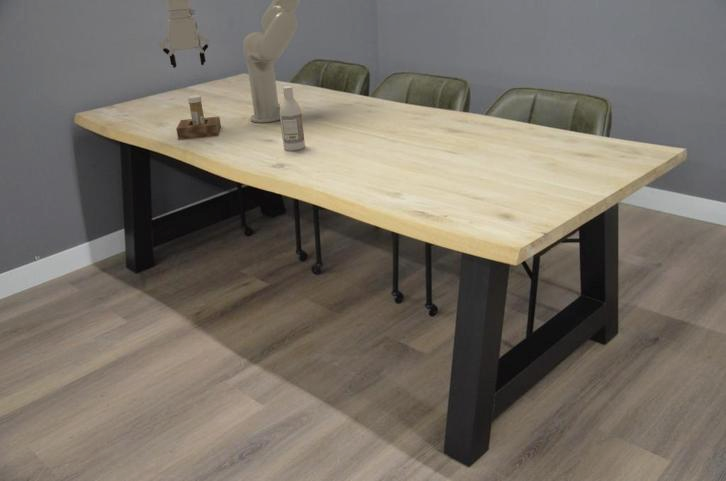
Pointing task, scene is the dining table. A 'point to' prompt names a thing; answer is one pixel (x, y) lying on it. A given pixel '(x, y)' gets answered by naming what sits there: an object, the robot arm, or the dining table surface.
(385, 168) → the dining table surface
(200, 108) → the sprinkles bottle
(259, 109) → the robot arm
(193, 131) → the socket board
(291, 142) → the bath foam
